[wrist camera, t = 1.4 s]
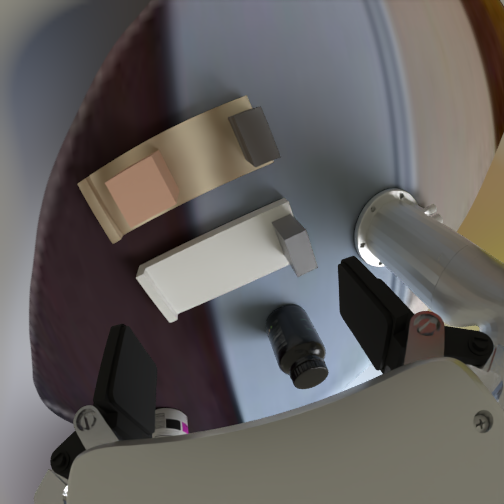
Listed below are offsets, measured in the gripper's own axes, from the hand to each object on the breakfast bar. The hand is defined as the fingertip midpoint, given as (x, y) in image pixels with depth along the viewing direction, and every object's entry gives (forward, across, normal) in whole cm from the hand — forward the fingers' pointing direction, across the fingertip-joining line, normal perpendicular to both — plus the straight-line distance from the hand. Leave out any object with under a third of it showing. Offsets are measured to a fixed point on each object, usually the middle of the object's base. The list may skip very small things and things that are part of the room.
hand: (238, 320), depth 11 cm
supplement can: (+22, +24, +43) cm, 54 cm away
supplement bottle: (+23, -5, +23) cm, 33 cm away
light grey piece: (+22, +1, +9) cm, 24 cm away
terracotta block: (+20, +6, -3) cm, 21 cm away
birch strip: (+22, +3, -4) cm, 23 cm away
